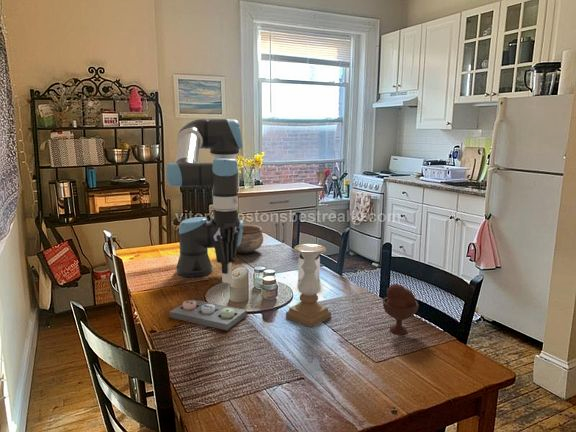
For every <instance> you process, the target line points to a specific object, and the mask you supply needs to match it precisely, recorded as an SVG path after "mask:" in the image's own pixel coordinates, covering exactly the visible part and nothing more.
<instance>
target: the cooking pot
mask: <svg viewBox="0 0 576 432" xmlns="http://www.w3.org/2000/svg"><path fill="white" fill-rule="evenodd" d="M262 230H263V228H262V227H261V225H260V226H259V225H255V224H243V231H242V239H241V243H240V245H239V246H238V247H237V252H236V254H237V253H238V254H240V255H249V254H251V253H253V252H255V251H256V250H258V249H259V248H260V247H261V246H262V245H263V242H264V235H263V233H262Z"/></svg>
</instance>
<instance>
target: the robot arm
mask: <svg viewBox="0 0 576 432" xmlns="http://www.w3.org/2000/svg"><path fill="white" fill-rule="evenodd" d="M242 139H243V138H242V132H241V126H240V121H238V120H236V119H233V118H232V119H231V118H229V119H228V118H208V119H207V118H198V119H195V120H192V121H190V122H188V123H186V124H185V125H184V126H182V128H181V129H180V130H179V131H178V133H177V138H176V141H177V145H178V147H177V152H176V157H175V161H174V162H169V163H167V165H166V167H165V168H166V169H165V175H166V176H165V177H166V184H167V185H168V186H169V187H177V188H181V187H212V188H213V189H212V190H213V194H212V196H213V197H212V204H213V205H212V208H213V209H214V210H213V215H212V216H211V220H208V218H207V217H206V216H196V217H190V218H186V219H183V220H182V221H180V222H179V225H178V235H179V257H178V261H177V265H176V274H177V276H181V277H186V278H197V277H203V276H208V275H210V274H211V273H213V265H212V262H211V259H210V257H209V254H208V253H209V252H208V250H209V249H214V252H215V256H216V262H217V263H220V264H221V278H222V279H221V281H222V282H221V283H224V284H231V283H233V263H235V262H236V257H237V247H238V246H239V245H240V243H241V239H242V231H243V225H244V222H243V221H244V220H242V219H240V215H239V210H238V207H239V197H238V195H239V193H238V192H239V191H238V185H239V183H238V182H239V181H238V180H239V179H238V177H239V176H238V172H239V167H238V160H237V159H236V158H237V156H238V155H239V153H240V150H242V149H243V140H242ZM201 149H203V150H209V154H210V155H211V156H212V157H213V160H212V162H199V157H200V150H201Z"/></svg>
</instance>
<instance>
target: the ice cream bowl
mask: <svg viewBox="0 0 576 432" xmlns="http://www.w3.org/2000/svg"><path fill="white" fill-rule="evenodd" d="M386 295H387V296H385V297H383V298H382V305H383V311H384V312H385V313H386V314H387V315H388V316H390V317H391V318H392V319H395V321H396V322H395V323H396V324H395V325H392V326H390V327H389V332H390V333H392V334H394V335H398V336H402V335H404V336H405V335H406V334H407V333H408V329H407V328H406V327H405V326H404V325H402V324H403V320H407V319H409V318H411V317H413V316H414V315H415V314H416V313H417V312H418V310H419V306H420V305H419V302H418V300H416V297H415V295H414V293H413V292H412V290H410V289H408V288H406V287H404V286H403V285H402V284H399V283H393V284H391V285H389V287H388V288H386Z"/></svg>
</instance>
